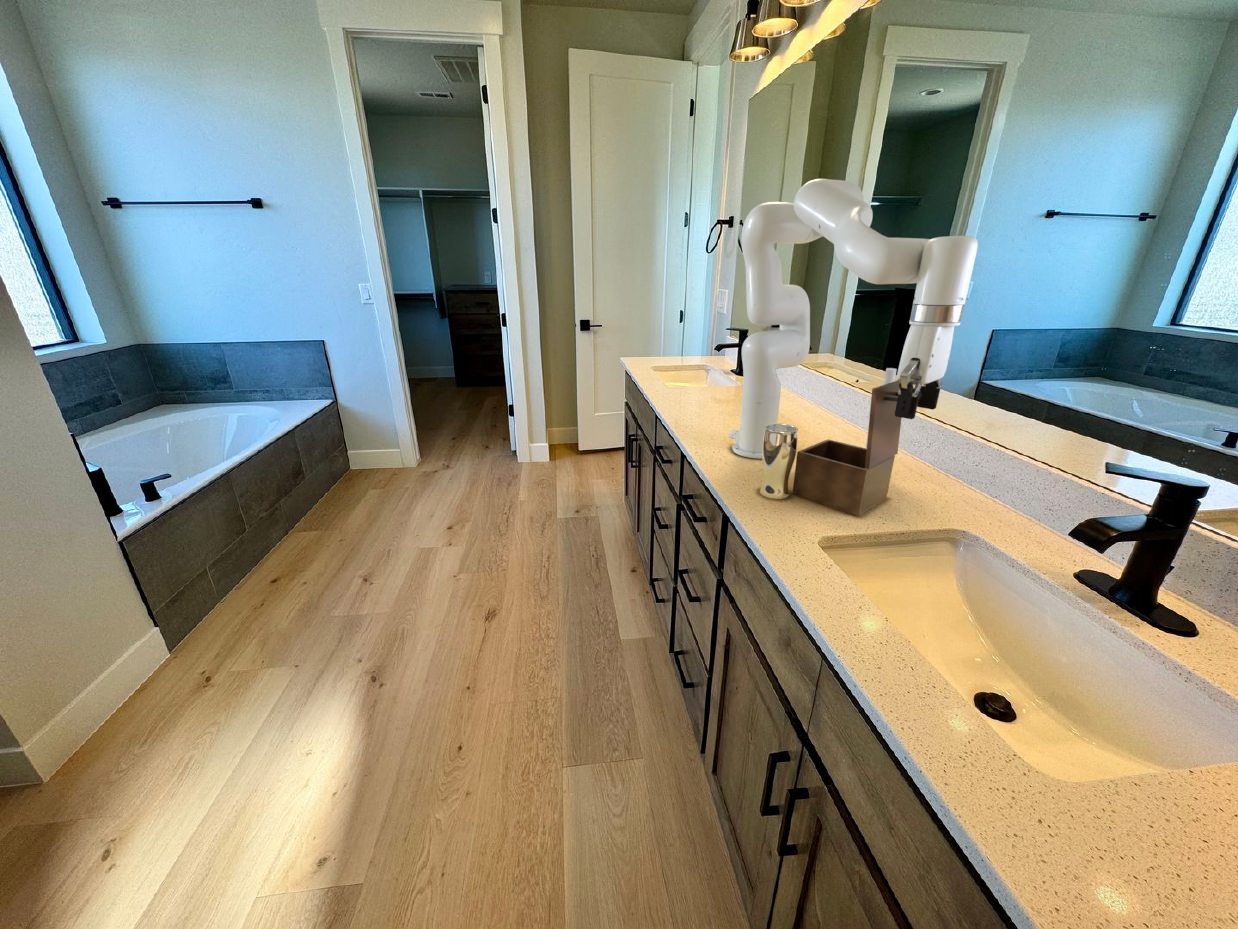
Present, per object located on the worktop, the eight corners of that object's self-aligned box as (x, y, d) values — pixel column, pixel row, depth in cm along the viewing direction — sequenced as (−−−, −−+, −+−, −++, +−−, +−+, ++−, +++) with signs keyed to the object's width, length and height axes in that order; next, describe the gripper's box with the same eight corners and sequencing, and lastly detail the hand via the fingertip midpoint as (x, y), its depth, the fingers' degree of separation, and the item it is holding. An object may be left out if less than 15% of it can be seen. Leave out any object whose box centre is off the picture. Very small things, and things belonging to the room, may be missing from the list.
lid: (872, 388, 89) (902, 390, 85) (901, 378, 96) (930, 380, 93) (864, 468, 94) (893, 473, 90) (893, 453, 101) (920, 457, 97)
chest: (792, 493, 107) (797, 451, 104) (822, 478, 115) (827, 439, 111) (858, 516, 97) (866, 470, 93) (886, 498, 104) (895, 455, 101)
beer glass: (768, 501, 104) (775, 434, 98) (752, 489, 110) (757, 424, 105) (797, 497, 106) (806, 431, 100) (779, 485, 112) (786, 421, 106)
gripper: (931, 311, 92) (912, 401, 98) (890, 317, 82) (873, 417, 88) (978, 313, 86) (955, 408, 93) (941, 320, 76) (918, 426, 82)
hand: (915, 412), depth 90 cm, fingers open, 9 cm apart
